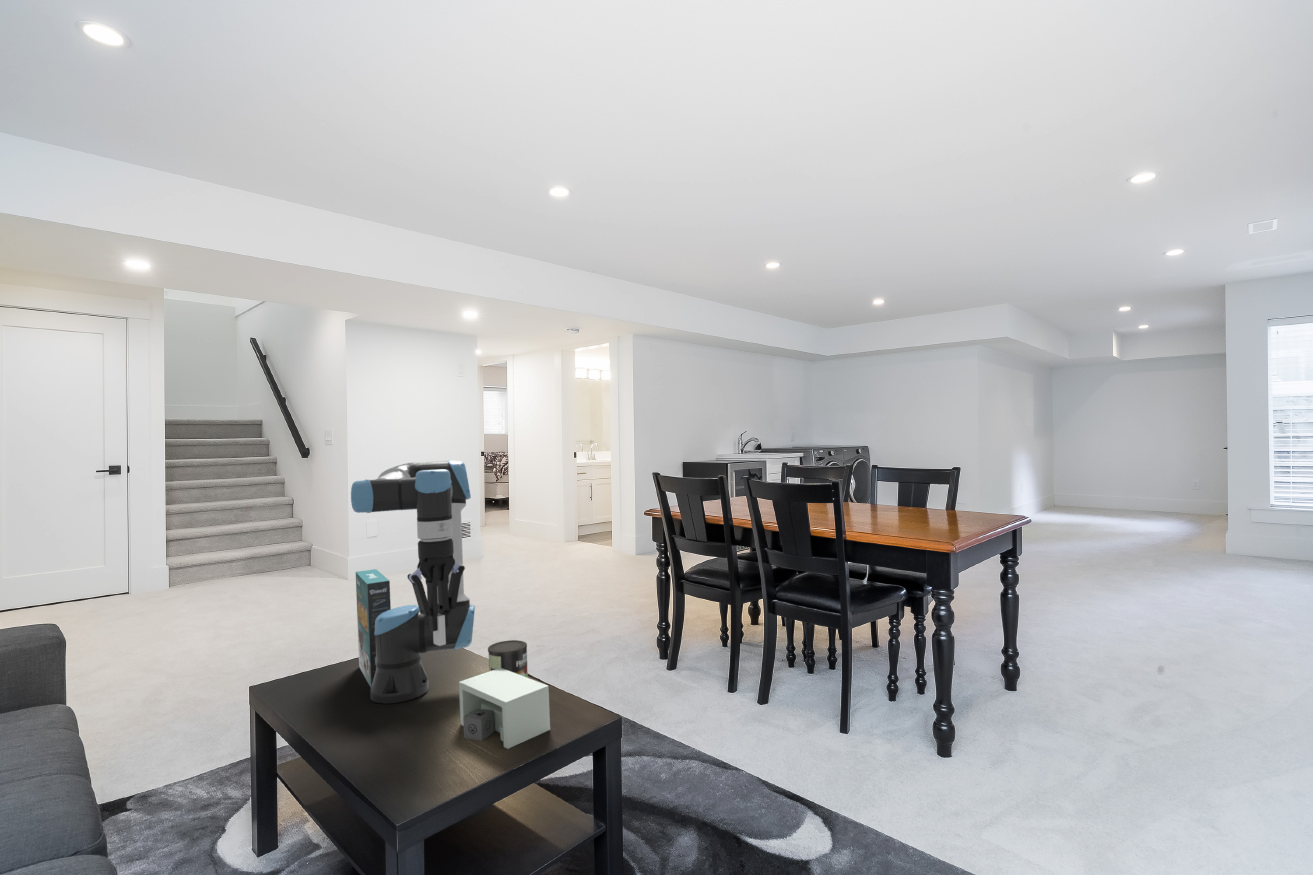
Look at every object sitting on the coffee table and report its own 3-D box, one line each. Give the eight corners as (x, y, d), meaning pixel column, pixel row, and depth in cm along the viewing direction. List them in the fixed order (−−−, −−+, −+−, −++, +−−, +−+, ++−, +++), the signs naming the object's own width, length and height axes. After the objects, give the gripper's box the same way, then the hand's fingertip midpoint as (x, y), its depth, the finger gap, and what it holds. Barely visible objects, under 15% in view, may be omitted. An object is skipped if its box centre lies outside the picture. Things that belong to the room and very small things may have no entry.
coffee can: (534, 691, 178) (532, 640, 178) (519, 706, 168) (517, 652, 168) (500, 689, 180) (498, 639, 180) (483, 705, 170) (480, 651, 170)
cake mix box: (393, 683, 188) (389, 580, 188) (371, 688, 185) (367, 583, 185) (379, 662, 207) (376, 568, 206) (359, 666, 203) (355, 571, 203)
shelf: (460, 724, 159) (458, 681, 159) (502, 707, 168) (500, 667, 168) (507, 748, 145) (505, 702, 145) (550, 729, 154) (548, 685, 154)
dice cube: (482, 740, 150) (481, 719, 150) (464, 738, 152) (463, 716, 152) (494, 731, 155) (493, 710, 155) (477, 728, 156) (476, 708, 156)
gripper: (415, 544, 137) (420, 655, 137) (470, 535, 147) (474, 639, 147) (399, 541, 142) (403, 648, 143) (453, 533, 152) (457, 633, 152)
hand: (439, 643), depth 145 cm, fingers closed
